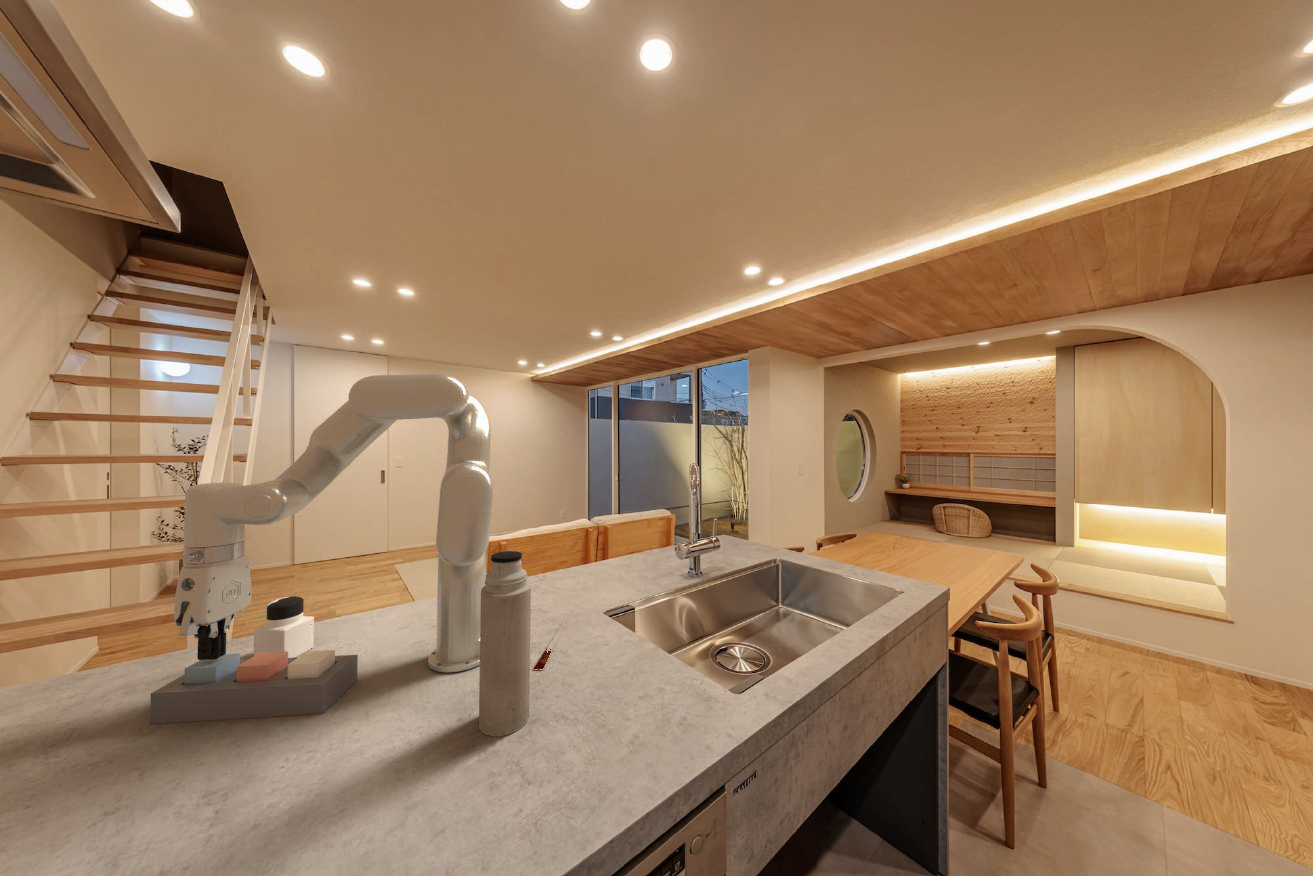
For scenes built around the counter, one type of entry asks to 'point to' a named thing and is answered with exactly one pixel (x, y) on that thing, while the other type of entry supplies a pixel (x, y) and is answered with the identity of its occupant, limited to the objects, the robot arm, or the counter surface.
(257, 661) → the terracotta key
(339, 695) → the key panel
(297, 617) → the medicine bottle
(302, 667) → the off-white key
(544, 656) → the red handled knife
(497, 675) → the thermos bottle
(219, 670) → the slate-blue key
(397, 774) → the counter surface
